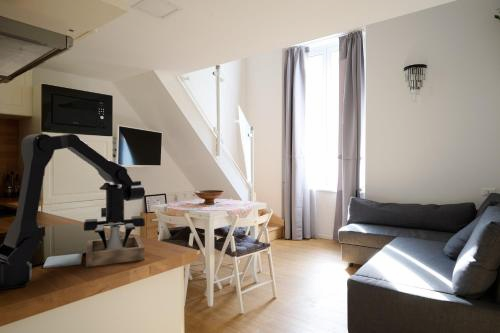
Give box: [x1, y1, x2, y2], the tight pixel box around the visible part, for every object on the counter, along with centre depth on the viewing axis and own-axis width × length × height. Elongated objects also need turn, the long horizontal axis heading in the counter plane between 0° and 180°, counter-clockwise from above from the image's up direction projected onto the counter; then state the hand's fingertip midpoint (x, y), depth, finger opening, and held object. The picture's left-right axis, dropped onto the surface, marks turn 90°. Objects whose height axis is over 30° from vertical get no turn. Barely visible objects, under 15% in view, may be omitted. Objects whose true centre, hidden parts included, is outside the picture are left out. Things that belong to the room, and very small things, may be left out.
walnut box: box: [85, 235, 145, 268], centre depth 107 cm, size 17×17×4 cm
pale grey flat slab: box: [42, 252, 83, 269], centre depth 100 cm, size 10×10×1 cm
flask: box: [105, 225, 125, 250], centre depth 107 cm, size 7×7×10 cm
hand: (115, 248), depth 107 cm, fingers closed on flask, 5 cm apart
